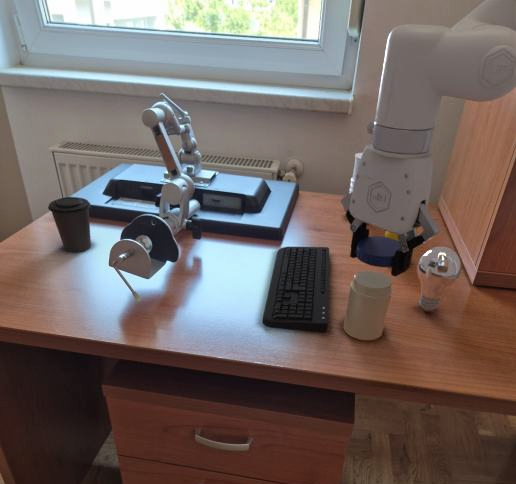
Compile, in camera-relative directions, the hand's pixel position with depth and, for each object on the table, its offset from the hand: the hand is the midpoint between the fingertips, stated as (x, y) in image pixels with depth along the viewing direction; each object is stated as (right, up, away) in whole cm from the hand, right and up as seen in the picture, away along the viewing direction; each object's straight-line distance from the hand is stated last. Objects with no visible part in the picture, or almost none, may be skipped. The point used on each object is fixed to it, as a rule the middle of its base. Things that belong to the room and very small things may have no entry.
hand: (377, 263), depth 72 cm
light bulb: (+12, -6, +13) cm, 19 cm away
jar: (-1, -10, +7) cm, 12 cm away
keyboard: (-10, -1, +18) cm, 21 cm away
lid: (0, +2, -1) cm, 2 cm away
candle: (+7, +19, +48) cm, 52 cm away
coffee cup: (-56, +8, +29) cm, 64 cm away
